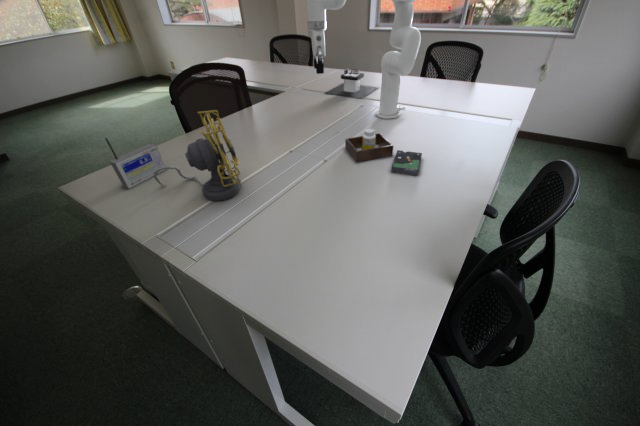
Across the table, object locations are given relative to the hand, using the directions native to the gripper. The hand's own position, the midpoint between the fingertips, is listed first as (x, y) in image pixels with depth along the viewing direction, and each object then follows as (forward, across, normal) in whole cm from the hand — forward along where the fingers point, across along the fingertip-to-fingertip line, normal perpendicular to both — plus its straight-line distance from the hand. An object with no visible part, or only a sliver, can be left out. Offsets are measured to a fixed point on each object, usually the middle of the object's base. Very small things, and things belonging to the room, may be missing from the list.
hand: (318, 70), depth 132 cm
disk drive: (+29, -41, -30) cm, 59 cm away
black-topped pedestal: (+29, +65, -29) cm, 77 cm away
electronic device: (+29, -29, +78) cm, 88 cm away
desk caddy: (+29, -27, -18) cm, 43 cm away
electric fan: (+29, -47, +51) cm, 75 cm away
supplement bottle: (+29, -27, -18) cm, 43 cm away
